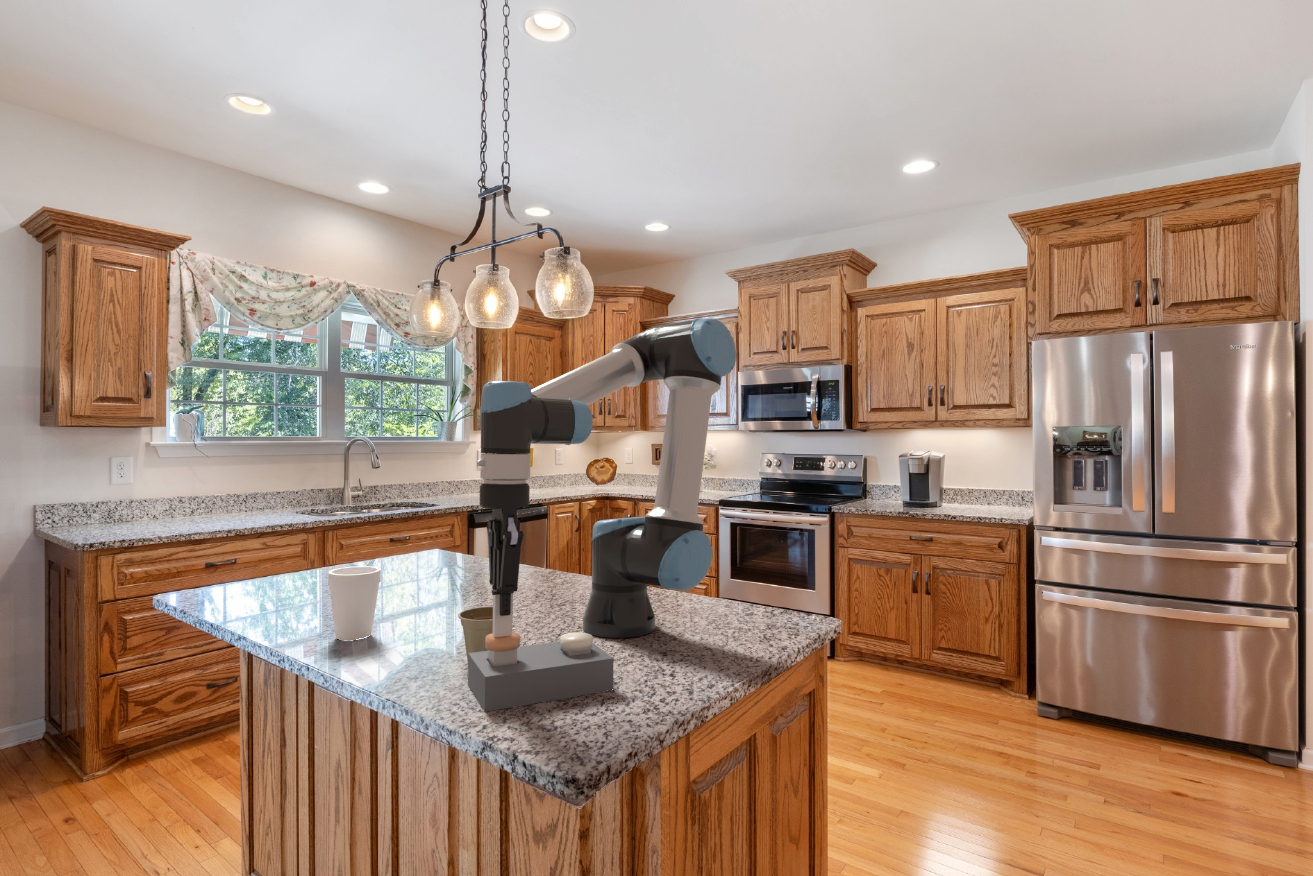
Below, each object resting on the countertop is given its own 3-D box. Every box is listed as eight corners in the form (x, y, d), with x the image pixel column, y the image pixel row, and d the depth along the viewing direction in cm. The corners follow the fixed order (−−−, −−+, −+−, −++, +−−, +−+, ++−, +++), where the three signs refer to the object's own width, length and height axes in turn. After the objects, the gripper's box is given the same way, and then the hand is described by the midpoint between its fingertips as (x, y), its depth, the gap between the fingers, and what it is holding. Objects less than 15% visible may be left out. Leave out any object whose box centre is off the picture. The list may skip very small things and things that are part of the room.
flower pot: (484, 674, 112) (485, 622, 112) (445, 664, 117) (446, 614, 117) (523, 659, 120) (524, 611, 120) (486, 650, 125) (486, 604, 125)
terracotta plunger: (514, 673, 107) (515, 630, 107) (523, 684, 103) (524, 638, 103) (481, 678, 105) (482, 634, 105) (489, 689, 100) (489, 643, 100)
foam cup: (338, 630, 137) (339, 566, 137) (385, 629, 138) (386, 566, 138) (319, 644, 128) (320, 575, 128) (369, 643, 128) (370, 575, 128)
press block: (585, 667, 116) (586, 638, 116) (613, 690, 106) (613, 658, 106) (467, 684, 107) (468, 653, 107) (484, 711, 97) (485, 676, 97)
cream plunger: (585, 672, 113) (585, 630, 113) (596, 682, 108) (597, 639, 108) (555, 676, 110) (556, 634, 110) (565, 687, 106) (566, 643, 106)
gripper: (471, 479, 108) (469, 627, 108) (490, 484, 96) (487, 649, 96) (517, 479, 111) (515, 622, 111) (541, 483, 100) (538, 643, 100)
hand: (502, 634), depth 104 cm, fingers closed
